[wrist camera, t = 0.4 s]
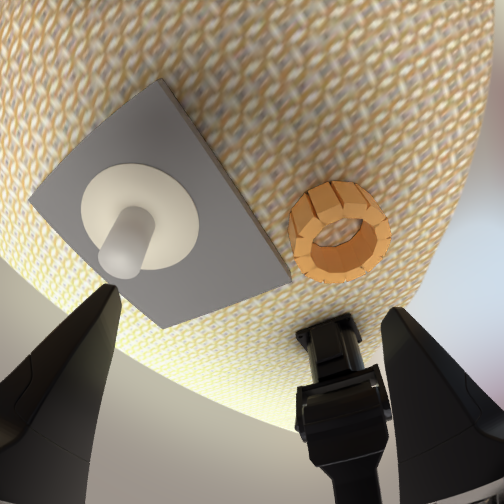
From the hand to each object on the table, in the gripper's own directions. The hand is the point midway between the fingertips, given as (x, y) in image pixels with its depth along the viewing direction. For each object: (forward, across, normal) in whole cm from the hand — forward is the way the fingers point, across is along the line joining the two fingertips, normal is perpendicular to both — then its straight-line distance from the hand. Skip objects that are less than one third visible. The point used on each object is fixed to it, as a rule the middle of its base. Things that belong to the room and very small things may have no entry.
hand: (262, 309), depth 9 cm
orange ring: (+12, -7, +4) cm, 15 cm away
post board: (+12, +6, +6) cm, 15 cm away
